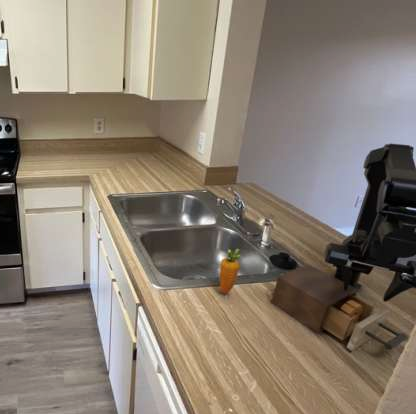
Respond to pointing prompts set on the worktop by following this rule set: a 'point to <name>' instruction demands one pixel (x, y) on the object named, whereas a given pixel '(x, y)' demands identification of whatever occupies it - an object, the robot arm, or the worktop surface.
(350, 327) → the drawer
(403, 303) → the worktop surface
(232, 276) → the carrot
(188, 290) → the worktop surface
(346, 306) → the wooden gear wheel
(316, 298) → the cabinet
